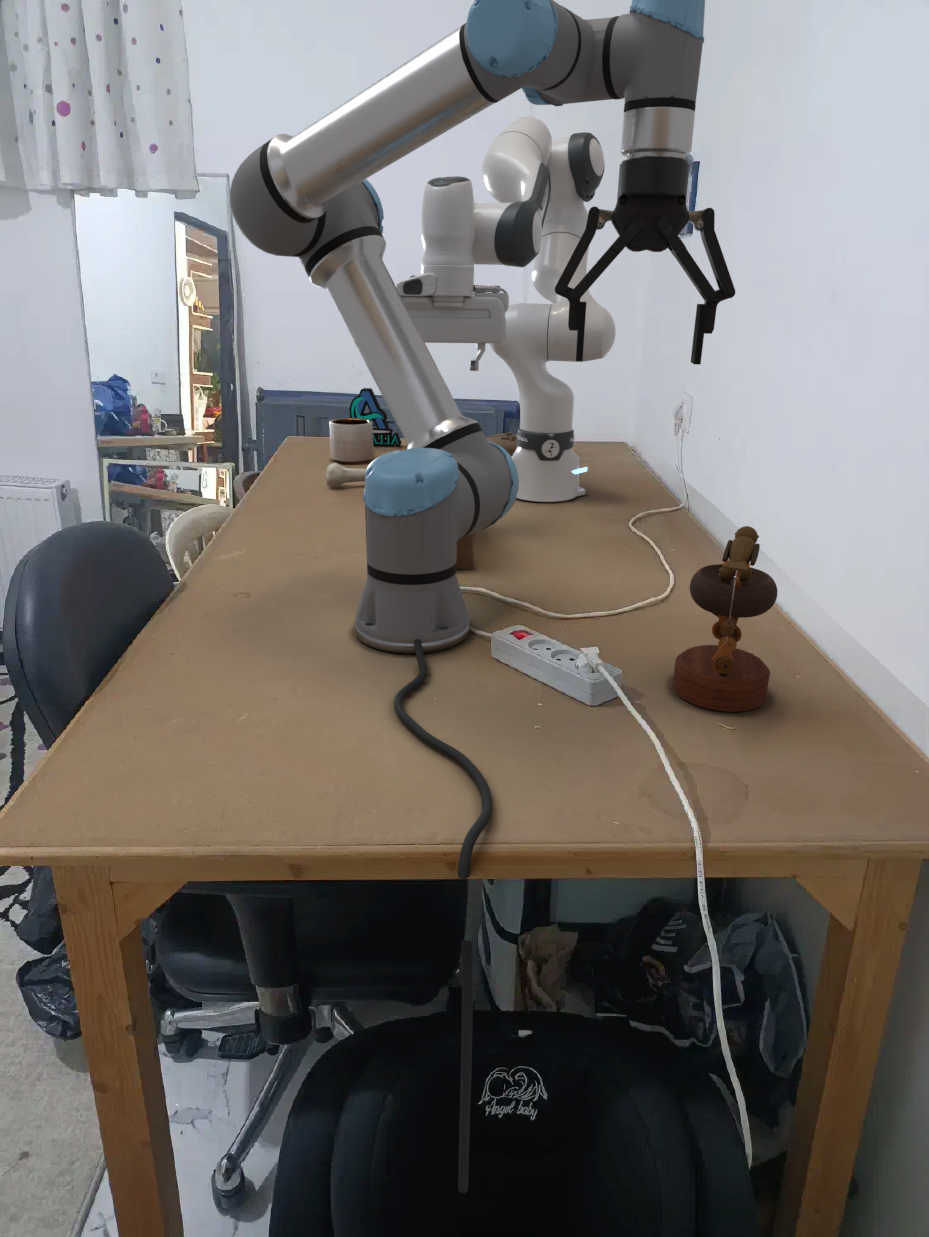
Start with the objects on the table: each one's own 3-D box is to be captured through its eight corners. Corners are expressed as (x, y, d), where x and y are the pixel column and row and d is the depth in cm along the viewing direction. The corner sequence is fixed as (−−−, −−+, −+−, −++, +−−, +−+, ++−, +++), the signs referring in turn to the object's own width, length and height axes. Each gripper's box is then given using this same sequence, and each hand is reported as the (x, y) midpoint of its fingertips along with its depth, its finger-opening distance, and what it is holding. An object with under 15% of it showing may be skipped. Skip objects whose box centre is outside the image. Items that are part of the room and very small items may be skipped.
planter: (327, 456, 217) (325, 418, 214) (369, 454, 220) (368, 417, 217) (334, 465, 208) (332, 425, 204) (377, 463, 211) (376, 424, 207)
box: (471, 569, 137) (473, 497, 133) (434, 569, 137) (435, 497, 132) (460, 525, 161) (461, 462, 156) (429, 525, 160) (429, 463, 156)
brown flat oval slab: (485, 467, 208) (485, 449, 207) (478, 445, 234) (478, 430, 233) (570, 467, 209) (571, 450, 208) (554, 445, 235) (554, 430, 234)
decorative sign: (401, 444, 234) (401, 388, 228) (400, 446, 231) (399, 390, 226) (333, 442, 235) (331, 387, 229) (332, 444, 232) (329, 388, 227)
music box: (784, 722, 91) (798, 544, 84) (680, 722, 93) (685, 548, 85) (755, 661, 105) (765, 505, 98) (665, 663, 107) (668, 509, 99)
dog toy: (415, 481, 193) (415, 459, 191) (418, 487, 188) (418, 465, 186) (325, 483, 190) (324, 461, 188) (326, 489, 184) (325, 466, 182)
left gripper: (764, 163, 94) (738, 361, 102) (540, 162, 96) (532, 356, 104) (781, 154, 87) (751, 367, 95) (539, 153, 89) (530, 362, 98)
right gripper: (506, 285, 145) (504, 369, 150) (387, 283, 143) (388, 368, 149) (511, 286, 139) (508, 373, 144) (386, 284, 138) (388, 371, 143)
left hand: (636, 362), depth 100 cm, fingers open, 13 cm apart
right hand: (446, 370), depth 146 cm, fingers open, 8 cm apart
